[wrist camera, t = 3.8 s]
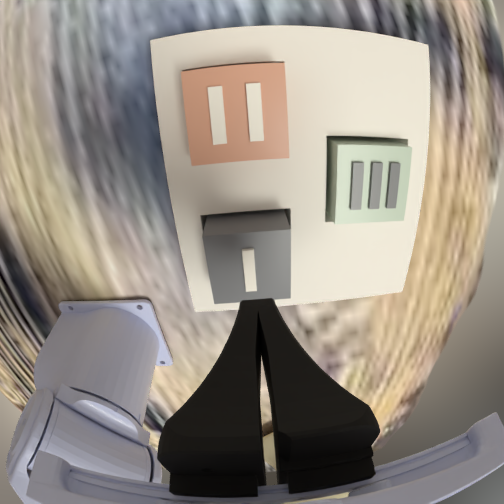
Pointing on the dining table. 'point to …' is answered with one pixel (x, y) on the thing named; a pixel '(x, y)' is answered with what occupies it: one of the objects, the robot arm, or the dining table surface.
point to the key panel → (301, 151)
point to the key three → (366, 179)
